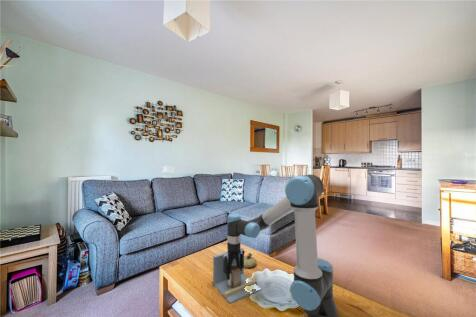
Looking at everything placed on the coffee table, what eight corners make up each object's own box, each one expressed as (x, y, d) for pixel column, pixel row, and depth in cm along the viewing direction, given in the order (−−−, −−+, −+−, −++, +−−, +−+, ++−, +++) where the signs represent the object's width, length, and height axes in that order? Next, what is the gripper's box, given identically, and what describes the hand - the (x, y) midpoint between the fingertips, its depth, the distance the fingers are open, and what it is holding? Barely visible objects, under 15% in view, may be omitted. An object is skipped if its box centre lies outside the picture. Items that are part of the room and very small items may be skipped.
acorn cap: (254, 271, 127) (259, 256, 133) (238, 263, 129) (244, 249, 135) (252, 274, 134) (256, 259, 141) (237, 267, 137) (243, 252, 143)
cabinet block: (241, 286, 110) (241, 268, 110) (233, 289, 107) (233, 270, 107) (234, 279, 116) (234, 262, 116) (226, 282, 113) (226, 265, 113)
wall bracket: (261, 289, 108) (261, 260, 108) (229, 304, 97) (230, 271, 97) (240, 272, 125) (240, 247, 125) (212, 283, 114) (212, 255, 114)
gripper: (243, 236, 120) (243, 274, 119) (216, 243, 110) (216, 284, 110) (250, 240, 114) (250, 281, 113) (223, 248, 104) (223, 292, 103)
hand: (233, 282), depth 111 cm, fingers closed on cabinet block, 5 cm apart
